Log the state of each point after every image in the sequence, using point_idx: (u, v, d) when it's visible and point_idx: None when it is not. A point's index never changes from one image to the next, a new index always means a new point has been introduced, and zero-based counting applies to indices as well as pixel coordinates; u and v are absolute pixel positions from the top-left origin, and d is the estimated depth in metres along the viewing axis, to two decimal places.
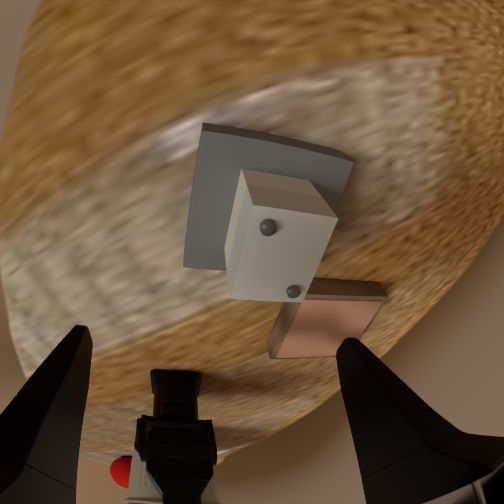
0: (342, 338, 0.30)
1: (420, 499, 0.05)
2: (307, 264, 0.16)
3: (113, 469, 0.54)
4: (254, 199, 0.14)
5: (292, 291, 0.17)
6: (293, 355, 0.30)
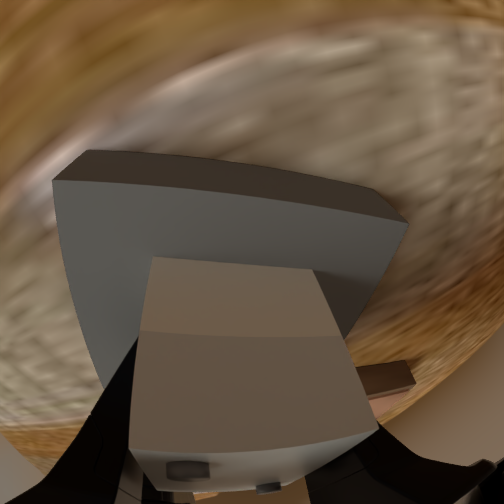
0: None
1: None
2: (295, 472, 0.06)
3: None
4: (139, 415, 0.04)
5: (265, 492, 0.07)
6: None
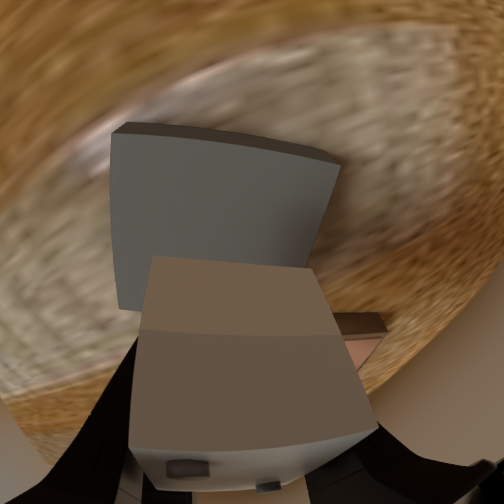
0: None
1: None
2: (295, 471, 0.06)
3: None
4: (139, 413, 0.04)
5: (265, 491, 0.07)
6: None
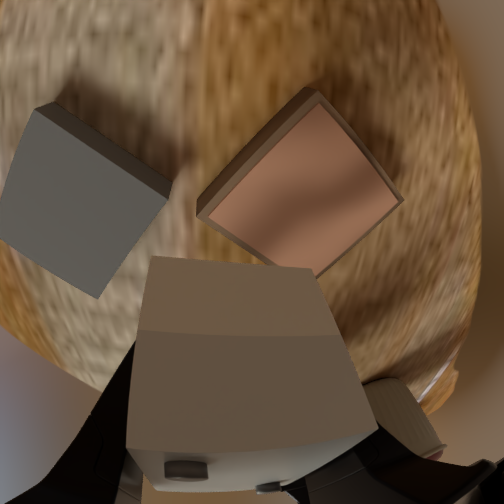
0: (350, 194, 0.17)
1: None
2: (294, 472, 0.06)
3: None
4: (136, 414, 0.04)
5: (265, 492, 0.07)
6: (320, 265, 0.20)
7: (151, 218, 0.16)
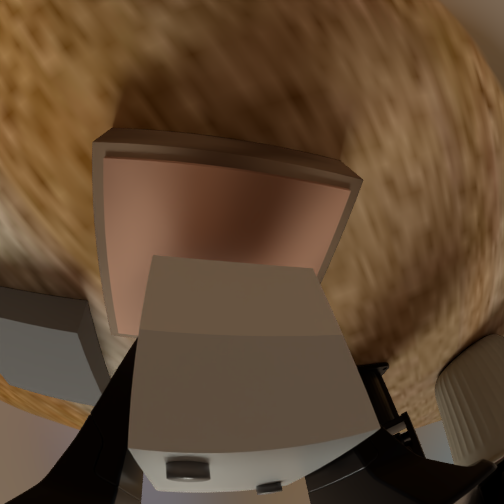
0: (255, 230, 0.11)
1: None
2: (295, 472, 0.06)
3: None
4: (138, 414, 0.04)
5: (266, 492, 0.07)
6: None
7: (81, 349, 0.14)
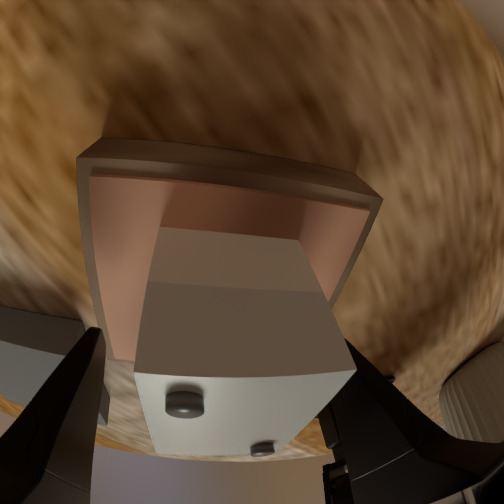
0: None
1: None
2: (285, 426, 0.07)
3: None
4: (144, 345, 0.05)
5: (259, 453, 0.08)
6: None
7: None
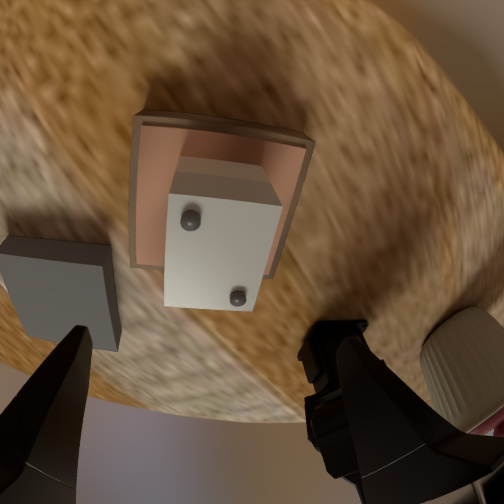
0: None
1: (420, 499, 0.05)
2: (250, 265, 0.13)
3: None
4: (174, 187, 0.11)
5: (235, 298, 0.14)
6: None
7: (103, 283, 0.19)
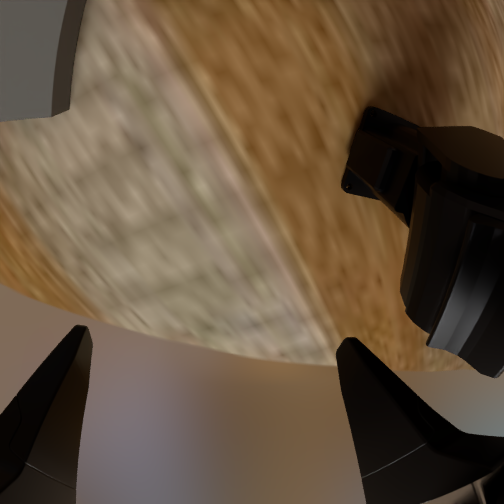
0: None
1: (420, 499, 0.05)
2: None
3: None
4: None
5: None
6: None
7: None
